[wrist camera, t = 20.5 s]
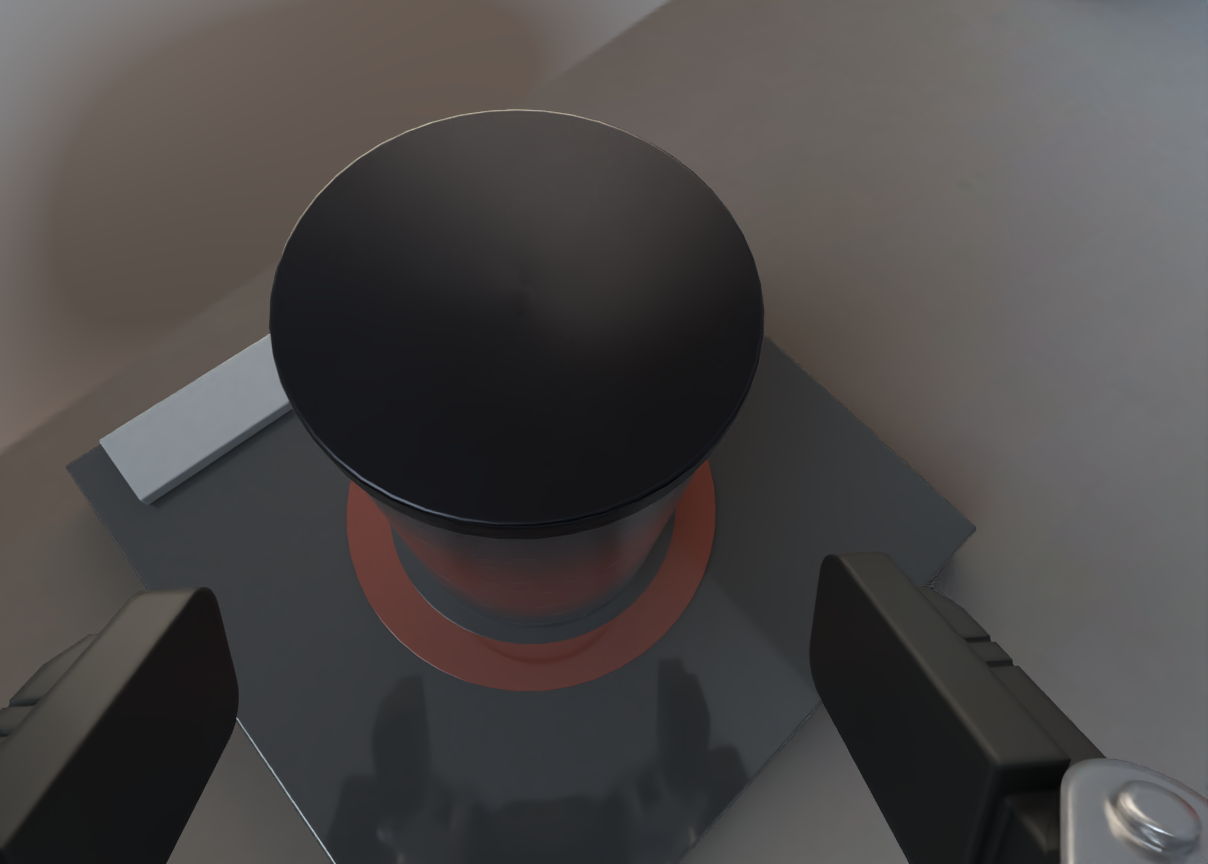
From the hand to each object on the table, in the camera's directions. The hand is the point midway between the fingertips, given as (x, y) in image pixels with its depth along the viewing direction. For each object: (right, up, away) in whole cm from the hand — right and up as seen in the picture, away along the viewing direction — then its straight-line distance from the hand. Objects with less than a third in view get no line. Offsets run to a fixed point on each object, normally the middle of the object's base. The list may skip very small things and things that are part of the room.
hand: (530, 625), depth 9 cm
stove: (-1, 0, +9) cm, 9 cm away
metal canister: (-1, +1, +8) cm, 8 cm away
